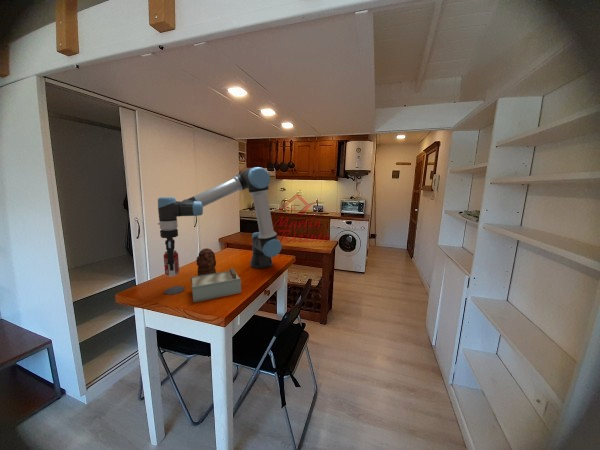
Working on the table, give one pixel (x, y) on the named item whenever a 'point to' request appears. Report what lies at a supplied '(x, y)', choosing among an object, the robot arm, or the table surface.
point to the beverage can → (174, 262)
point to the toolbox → (215, 289)
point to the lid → (215, 278)
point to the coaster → (174, 290)
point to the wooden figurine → (206, 262)
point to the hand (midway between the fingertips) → (172, 273)
